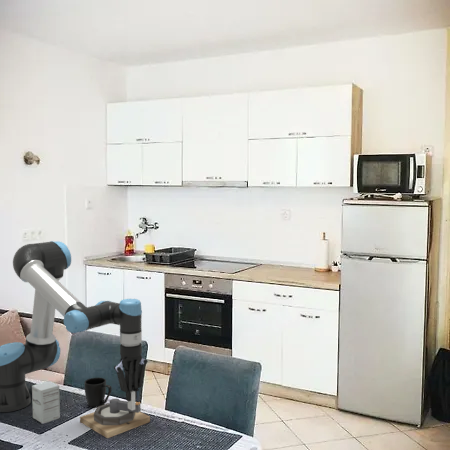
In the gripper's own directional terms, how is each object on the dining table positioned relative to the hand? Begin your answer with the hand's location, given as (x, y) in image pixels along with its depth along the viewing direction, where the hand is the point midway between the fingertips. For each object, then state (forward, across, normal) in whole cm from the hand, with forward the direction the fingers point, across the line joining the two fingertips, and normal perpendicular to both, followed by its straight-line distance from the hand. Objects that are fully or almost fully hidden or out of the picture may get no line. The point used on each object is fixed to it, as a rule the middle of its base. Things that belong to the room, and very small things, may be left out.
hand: (131, 408), depth 193 cm
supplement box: (+7, -18, +29) cm, 35 cm away
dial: (+5, -1, +6) cm, 8 cm away
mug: (+7, +2, +25) cm, 26 cm away
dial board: (+7, -2, +8) cm, 11 cm away
